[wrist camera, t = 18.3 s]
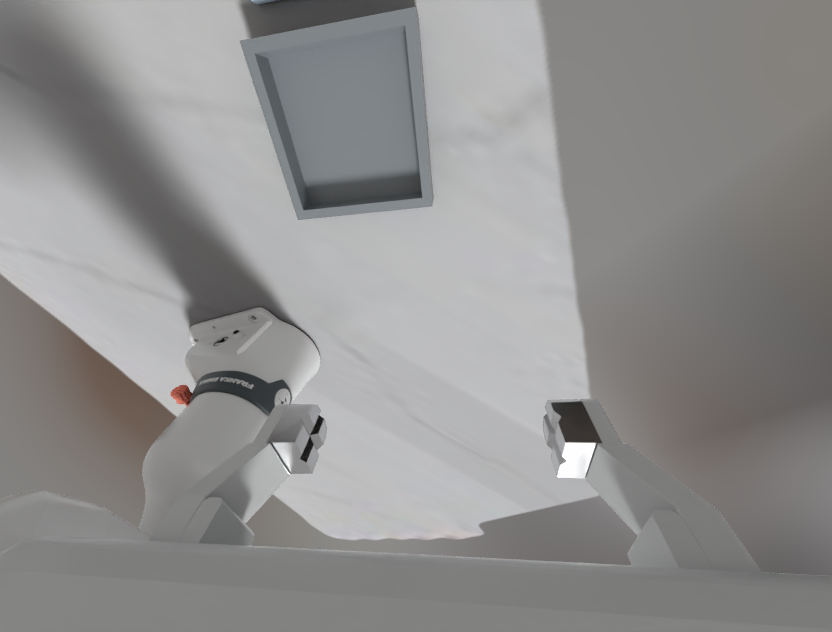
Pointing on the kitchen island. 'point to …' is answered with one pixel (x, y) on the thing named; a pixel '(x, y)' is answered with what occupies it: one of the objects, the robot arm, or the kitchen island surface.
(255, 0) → the light blue flat slab
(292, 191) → the parts bin
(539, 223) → the kitchen island surface
